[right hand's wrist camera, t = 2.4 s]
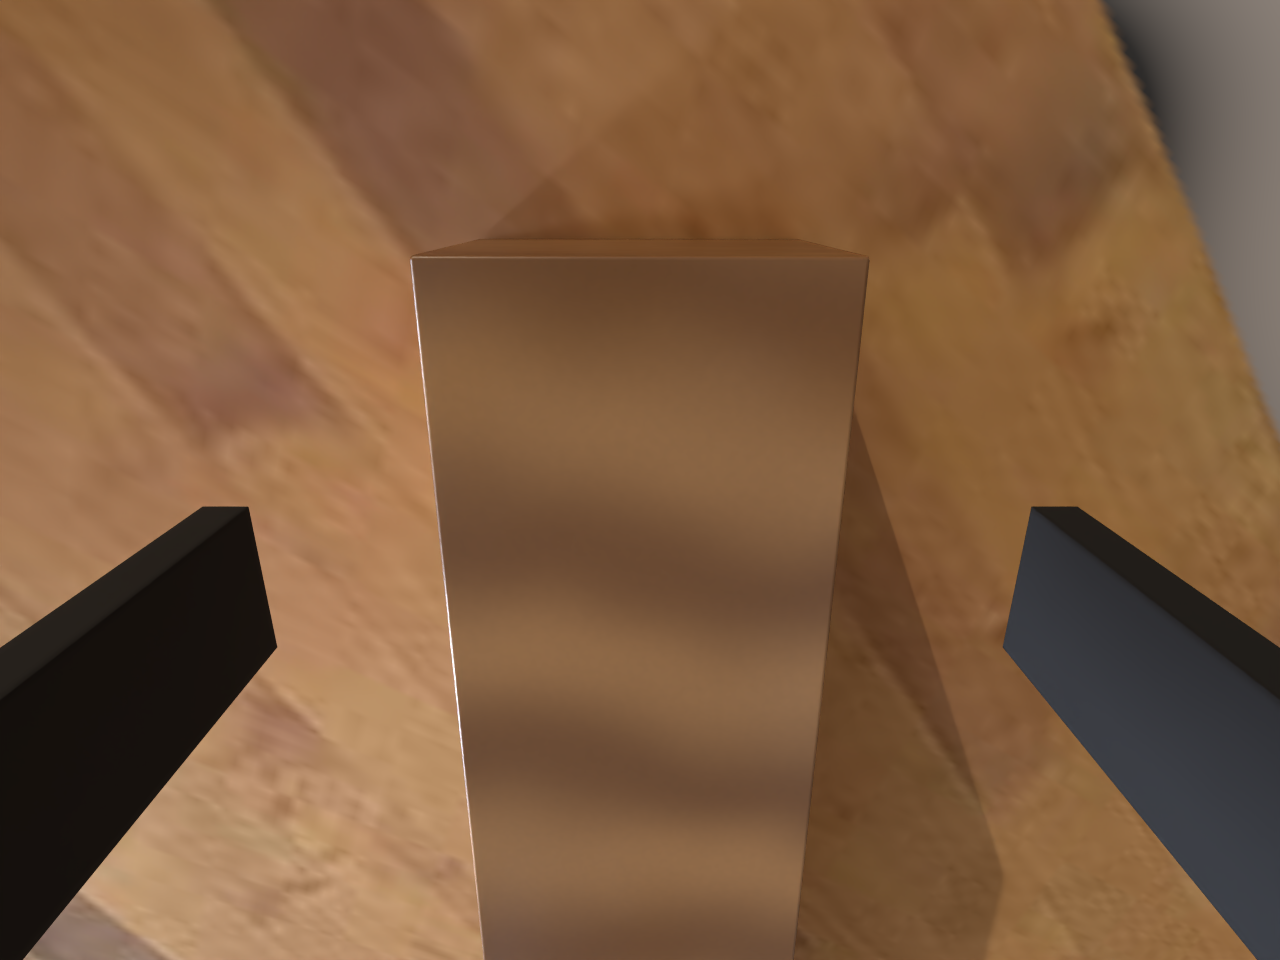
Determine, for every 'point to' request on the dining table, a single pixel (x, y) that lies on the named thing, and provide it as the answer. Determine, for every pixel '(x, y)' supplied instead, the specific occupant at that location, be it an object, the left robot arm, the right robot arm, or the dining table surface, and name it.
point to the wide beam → (639, 577)
